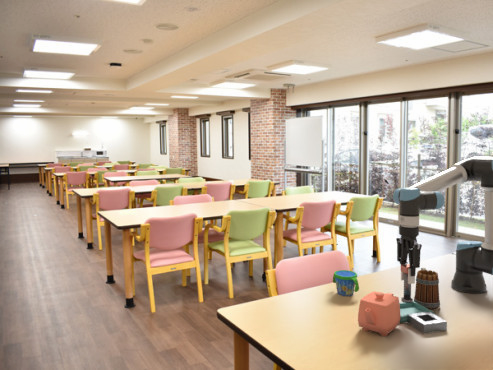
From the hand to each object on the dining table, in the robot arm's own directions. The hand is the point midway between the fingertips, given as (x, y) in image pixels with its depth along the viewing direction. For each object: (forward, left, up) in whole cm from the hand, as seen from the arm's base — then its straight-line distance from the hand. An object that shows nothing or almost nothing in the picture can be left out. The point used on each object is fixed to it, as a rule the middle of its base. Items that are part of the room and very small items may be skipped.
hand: (407, 281), depth 170 cm
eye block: (0, +12, -14) cm, 19 cm away
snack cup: (+13, -29, -14) cm, 35 cm away
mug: (-15, -8, -14) cm, 22 cm away
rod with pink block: (0, 0, -8) cm, 8 cm away
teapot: (+19, +9, -14) cm, 25 cm away
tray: (0, 0, -14) cm, 14 cm away
